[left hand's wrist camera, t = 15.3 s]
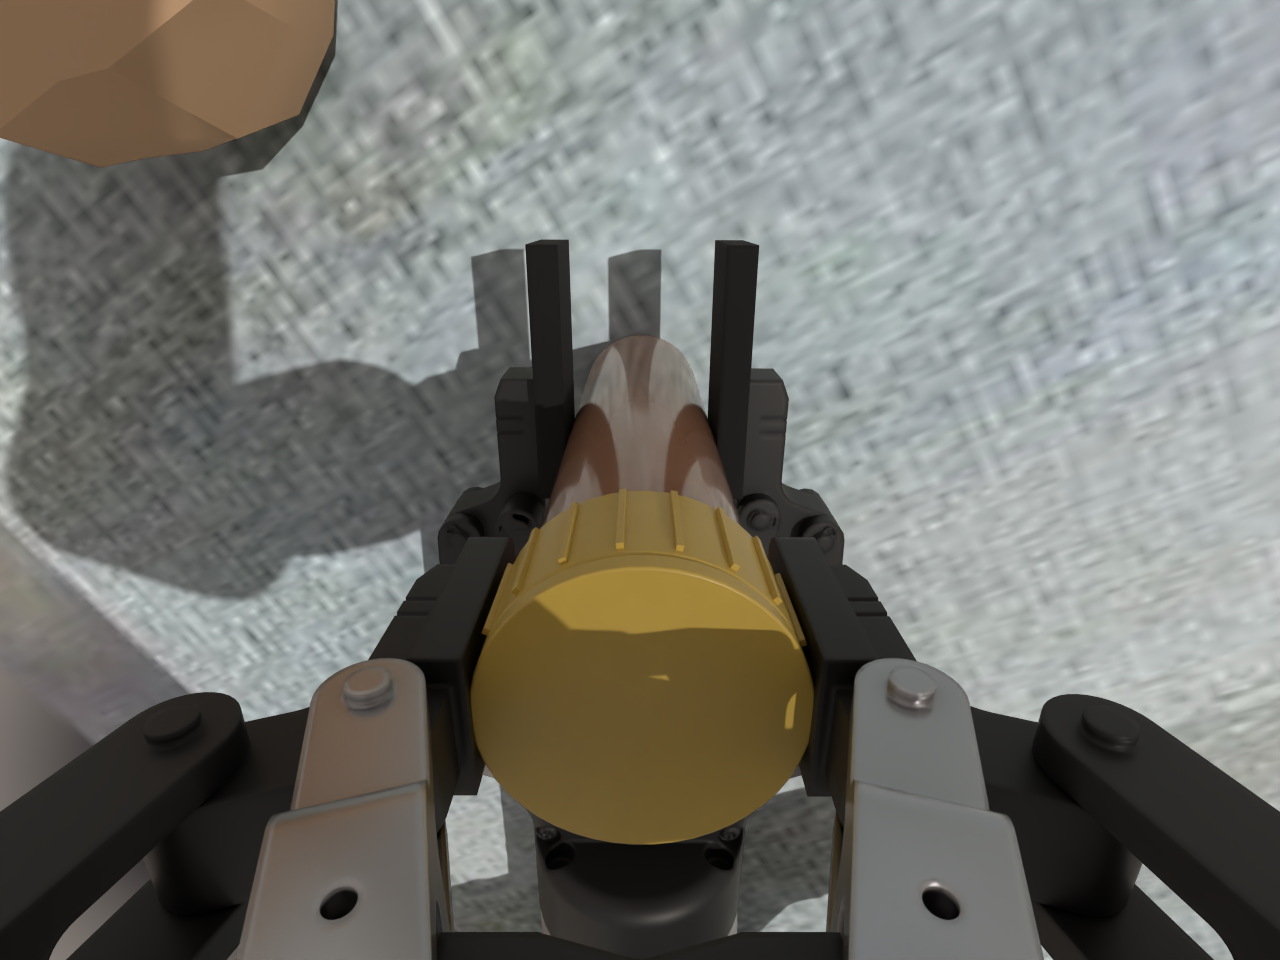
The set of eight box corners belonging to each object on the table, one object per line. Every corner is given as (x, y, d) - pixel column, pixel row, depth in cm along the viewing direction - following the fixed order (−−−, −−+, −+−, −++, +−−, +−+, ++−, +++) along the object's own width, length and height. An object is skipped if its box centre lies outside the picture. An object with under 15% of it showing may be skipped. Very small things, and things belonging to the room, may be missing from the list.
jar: (600, 449, 26) (538, 824, 10) (575, 347, 25) (457, 599, 9) (703, 429, 26) (805, 783, 10) (684, 324, 24) (767, 542, 8)
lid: (540, 748, 12) (517, 870, 10) (461, 515, 10) (412, 599, 8) (799, 705, 12) (837, 823, 10) (762, 457, 10) (798, 528, 8)
